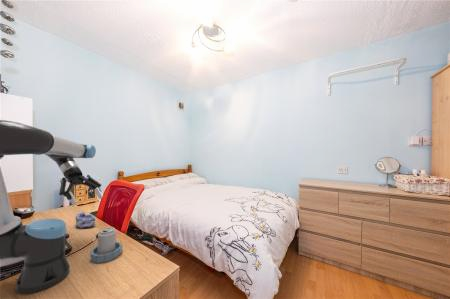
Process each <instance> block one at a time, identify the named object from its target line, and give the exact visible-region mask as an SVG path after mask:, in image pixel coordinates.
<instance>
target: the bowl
mask: <svg viewBox="0 0 450 299" xmlns="http://www.w3.org/2000/svg"><path fill="white" fill-rule="evenodd" d="M122 250H123V243H122V242H120V241H116V240H115V251H113V252H110V253H107V254H100V255H98V254H97V251H98V245H96V246H94V247H93V248H92V249H90V252H89V253H90V255H89V257H90V261H91V262H92V264H93V263H94V264H103V263H108V262H111V261H114V260H115V259H117V258H118V257H119V256H121V254H122Z"/></svg>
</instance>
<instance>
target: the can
mask: <svg viewBox="0 0 450 299" xmlns="http://www.w3.org/2000/svg"><path fill="white" fill-rule="evenodd" d="M116 235H117V230H116V229H115V227H113V226H110V227H109V226H108V227H104V228H102V229H100V230H99V233H98V235H97V246H98V251H97V254H98V255H100V254H107V253H110V252H113V251H115V241H116V237H117V236H116Z"/></svg>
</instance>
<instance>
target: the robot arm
mask: <svg viewBox="0 0 450 299" xmlns="http://www.w3.org/2000/svg"><path fill="white" fill-rule="evenodd" d="M15 155H17V156H18V155H36V156H37V155H45V156H47V157H49V159H51V160H52V161H53V162H55V163H56V165H57V167H58V168H59V169H60V171H61V174H63V177H62V178H61V179H60V180H59V182H60V189H59V193H58V195H59V196H63V197H65V198H66V199H67V200H68V201H70V203H71V205H72V206H76V205H77V203H78V201H77V199H76V197H75V195H74V194H73V192H72V191H71V190H72V188H73V187H74V186H77V185H83V186H84V185H85V186H87V187H89V188H92V189H93V190H94V193H95V194H96V195H97V196H96V197H97V198H98V199H99V200H101V199H102V198H103V197H104V194H103V193H102V190H101V186H102V184H101V183H100V182H99V181H97V180H96V179H94V178H93V177H91V176H90V175H89V174H87V175H84V174H83V172H82V170H81V168H80V167H79V165H78V163H77V162H76V161H75V159H93V158H94V157H95V155H96V147H95V145H93V144H83V143H79V142H76V141H73V140H68V139H65V138H61V137H58V136H54V135H53V134H52V133H50V132H49V131H47V130H45V129H40V128H38V127H34V126H31V125H27V124H24V123H20V122H16V121H11V120H4V119H0V160H2V159H3V158H4V157H5V156H15ZM67 183H69V185H68V187H67V188H66V186H67ZM66 238H67V224H66V221H64V220H63V219H60V218H43V219H42V218H41V219H37V220H34V221H31V222H29V223H27V224H23V222H22V218H21V217H20V216H17V215H14V211H13V207H12V205H11V201H10V196H9V194H8V190H7V186H6V183H5V179H4V176H3V172H2V168H1V167H0V260H8V259H17V258H23V260H24V261H23V268H22V269H21V272H20V274H19V276H18V278H17V280H16V283H15V292H16V293H17V294H19V295H20V294H21V295H22V294H23V295H26V294H27V295H28V294H33V293H39V292H40V291H44V290H46V289H48V288H51V287H53V286H55V285H57V284H59V283H60V282H62V280H64V279H65V278H66V277H67V276H68V275H69V274H70V264H69V261H68V258H67V255H66Z"/></svg>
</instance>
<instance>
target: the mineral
mask: <svg viewBox="0 0 450 299" xmlns="http://www.w3.org/2000/svg"><path fill="white" fill-rule="evenodd" d="M95 225H96V217H95V216H93V215H92V214H86V213H85V212H80V213H77V214H75V227H76V228H81V229H83V228H90V227H92V226H93V227H94V226H95Z"/></svg>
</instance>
